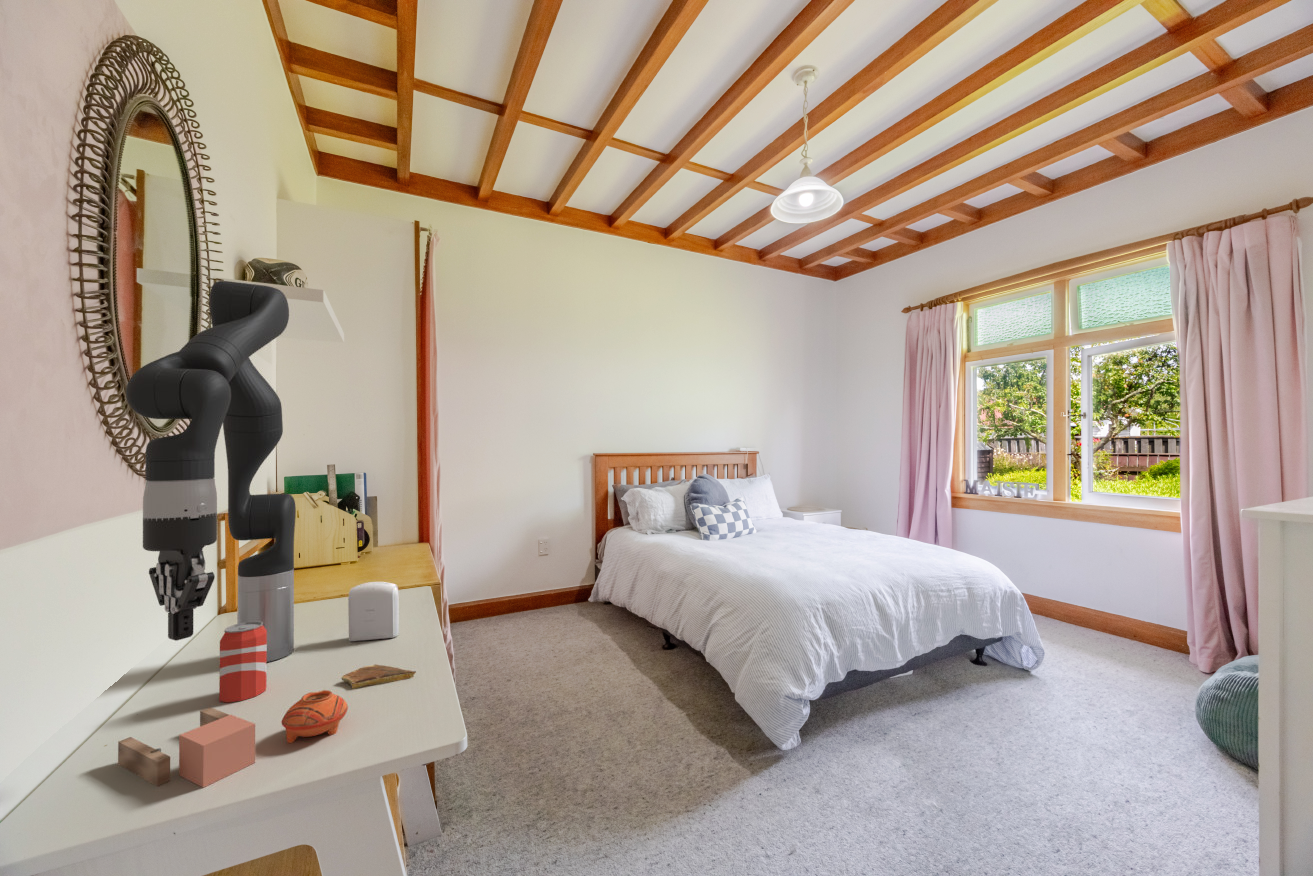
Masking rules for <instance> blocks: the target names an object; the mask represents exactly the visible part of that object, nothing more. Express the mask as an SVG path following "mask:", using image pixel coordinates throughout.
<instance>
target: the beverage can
mask: <svg viewBox="0 0 1313 876" xmlns="http://www.w3.org/2000/svg"><path fill="white" fill-rule="evenodd" d="M262 624H263V622H258V621H254V622H245V623H240V624H237V623H236V624H233V625H229V626H227V627H225V628H224V630H223V632H224V633H223V635H222V637H221V638H220V640H219V676H218V677H219V678H218V679H219V685H218V686H219V689H218V690H219V691H218V692H219V693H218V695H219V699H218V700H219V702H224V703H235V702H242V701H246V700H248V699H251V698H255V697H257V696H259V695H260V694H262V693H264V692H265V691H266V690H267V681H268V680H267V677H268V676H267V675H268V674H267V669H268V668H267V667H268V666H267V663H268V662H267V630H266V629H265V628H264V626H263V625H262Z"/></svg>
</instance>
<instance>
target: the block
mask: <svg viewBox="0 0 1313 876" xmlns="http://www.w3.org/2000/svg"><path fill="white" fill-rule="evenodd" d="M178 737H179V738H178V741H179V745H178V746H179V747H178V748H179V749H178V750H179V752H178V775H179V776H180V777H182V778H184V779H186V780H188V781H189V782H192V783H194V784H195V785H198V786H199V787H201V788H206V787H208V786H210V785H212V784H213V783H214V784H215V783H216V782H218V781H221V780H222V779H224V778H227V777H228V776H230V775H232V774H235V773H237V772H238V771H241V770H243V769H245V768H247V767H249V766H251V765H253V764H255V763H256V723H254V722H251V721H249V720H246V719H243V718H241V717H239V716H236V715H233V714H229V715H228V716H226V717H223V718H221V719H218V720H216V721H213V722H211V723H208V724H206V725H203V726H201V727H200V726H198V727H195V728H193V729H191V730H189V731H186V732H183V733H180V734H179V736H178Z"/></svg>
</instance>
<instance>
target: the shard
mask: <svg viewBox="0 0 1313 876" xmlns="http://www.w3.org/2000/svg"><path fill="white" fill-rule="evenodd" d="M416 673H417V671H416V670H415V671H414V670H409V669H408V670H407V669H402V668H400V667H393V666H388V665H382V664H373V665H367V666H363V667H360V668H358V669H356V670H353V671H351V672H348V673H345V674H343V675H342V676H341V678H340V679H341V681H343V682H345V683H348V684H350V686H351V689H352V690H355V689H359V688H363V687H366V686H367V687H368V686H372V685H374V686H376V685H379V684H380V685H381V684H387V683H392V682H398V681H403V680H407V679H411V678H414V677H415V675H416Z"/></svg>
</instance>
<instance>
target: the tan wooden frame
mask: <svg viewBox="0 0 1313 876" xmlns="http://www.w3.org/2000/svg"><path fill="white" fill-rule="evenodd" d="M228 715H230V714H229V713H226V712H223V711H220V710H218V709H215V708H212V707H207V708H205V709H201V710H200V711H199V727H201V726H203V725H206V724H208V723H211V722H213V721H216V720H218V719H221V718H223V717H226V716H228ZM117 743H118V744H117V746H118V748H117V766H120V767H122V768H124V769H126V770H128V771H129V772H130V773H132V774H134V775H136V776H138V777H140V778H141V779H143V780H145V781H147V782H148V783H150V784H153V785H154V786H156V787H157V788H158V787H159V786H160V787H161V786H162V785H165V784H166V783H169V782H171V756H170V755H168V754H166V753H164V752H162V748H159V747H158V748H154V747H152V746H150V745H147V744H145V743H144V742H142V741H140V740H138V739H135V738H134V737H131V736H130V737H127V738H124V739H122V740H119V741H117Z"/></svg>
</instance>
